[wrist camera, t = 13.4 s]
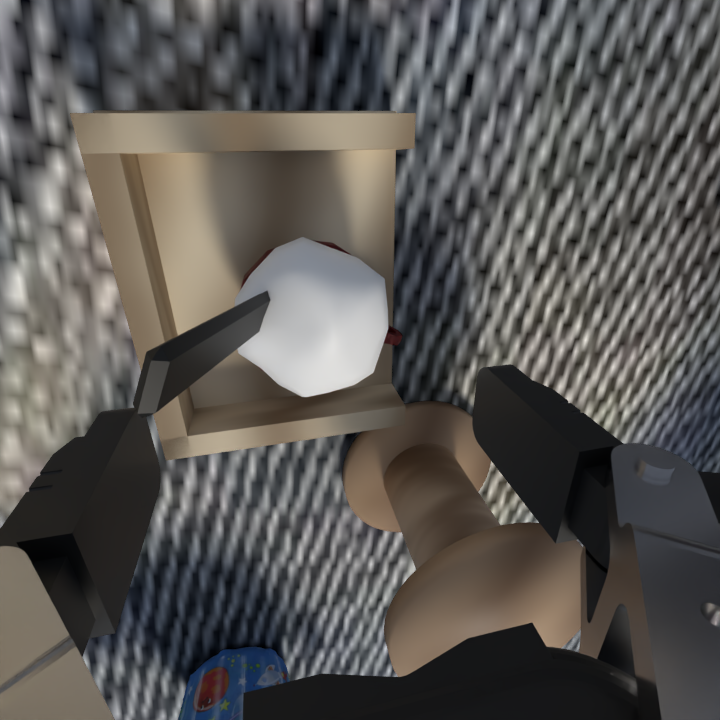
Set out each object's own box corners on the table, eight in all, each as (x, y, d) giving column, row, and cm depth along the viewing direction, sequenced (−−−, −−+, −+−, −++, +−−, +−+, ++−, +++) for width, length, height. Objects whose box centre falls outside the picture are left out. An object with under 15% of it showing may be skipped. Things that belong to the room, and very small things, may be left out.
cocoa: (396, 300, 22) (551, 418, 12) (318, 385, 23) (403, 566, 13) (253, 162, 18) (307, 161, 7) (162, 274, 18) (94, 418, 8)
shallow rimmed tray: (391, 112, 19) (415, 104, 16) (387, 398, 25) (404, 429, 22) (100, 112, 17) (66, 102, 14) (178, 426, 23) (167, 465, 20)
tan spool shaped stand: (492, 391, 27) (625, 521, 17) (476, 507, 31) (575, 662, 22) (339, 412, 25) (392, 571, 15) (344, 532, 29) (388, 715, 20)
